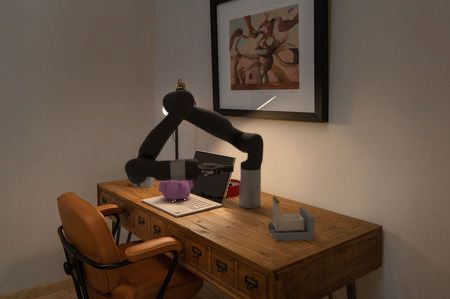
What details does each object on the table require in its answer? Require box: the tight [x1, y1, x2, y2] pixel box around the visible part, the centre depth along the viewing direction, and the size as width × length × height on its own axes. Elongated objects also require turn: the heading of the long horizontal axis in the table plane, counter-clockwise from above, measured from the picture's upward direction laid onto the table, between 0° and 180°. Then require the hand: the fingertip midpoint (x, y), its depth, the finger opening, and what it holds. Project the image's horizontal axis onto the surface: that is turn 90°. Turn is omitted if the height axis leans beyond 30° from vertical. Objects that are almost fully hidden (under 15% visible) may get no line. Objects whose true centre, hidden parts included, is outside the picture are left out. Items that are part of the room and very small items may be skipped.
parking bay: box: [267, 206, 315, 242], centre depth 145 cm, size 13×14×8 cm
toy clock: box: [225, 178, 240, 199], centre depth 206 cm, size 20×6×20 cm
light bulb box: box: [132, 177, 156, 188], centre depth 223 cm, size 11×7×11 cm, turn 81°
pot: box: [158, 180, 194, 201], centre depth 193 cm, size 18×17×12 cm
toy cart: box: [272, 195, 305, 233], centre depth 144 cm, size 7×10×13 cm
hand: (233, 168), depth 141 cm, fingers closed
